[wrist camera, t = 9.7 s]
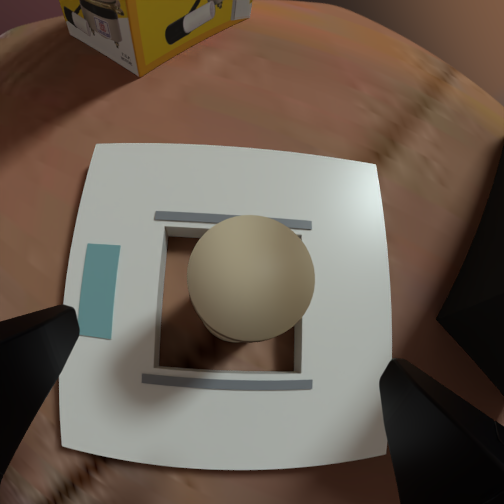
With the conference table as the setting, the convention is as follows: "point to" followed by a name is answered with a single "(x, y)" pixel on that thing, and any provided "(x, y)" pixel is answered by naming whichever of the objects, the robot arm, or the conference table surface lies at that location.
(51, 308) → the robot arm
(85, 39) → the packaging box
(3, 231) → the conference table surface
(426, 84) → the conference table surface
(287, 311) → the beech peg
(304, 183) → the hole plate
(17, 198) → the conference table surface
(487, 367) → the uninterruptible power supply
